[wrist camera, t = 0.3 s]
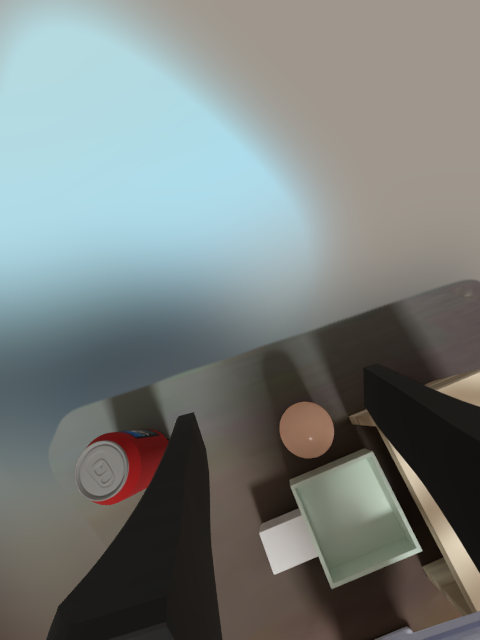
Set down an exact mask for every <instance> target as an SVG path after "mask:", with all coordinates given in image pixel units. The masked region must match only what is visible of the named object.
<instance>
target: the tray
mask: <svg viewBox="0 0 480 640" xmlns="http://www.w3.org/2000/svg"><path fill="white" fill-rule="evenodd" d="M289 481H290V487H291V490H292V492H293V495H294V497H295V499H296V502H297V504H298V507H299V508H298V509H296V510H293V511H291V512H288V513H286V514H284V515H281V516H279V517H277V518H274V519H272V520H269V521H267V522H265V523H262V524H261V526H260V531H259V534H260V537H261V540H262V542H263V545H264V548H265V551H266V554H267V556H268V559H269V562H270V565H271V568H272V571H273V573H274V575H275V574H277V573H280V572H282V571H285V570H287V569H289V568H292V567H294V566H296V565H299V564H301V563H304V562H306V561H308V560H311V559H313V558H315V557H319V559H320V562H321V564H322V567H323V569H324V572H325V574H326V577H327V579H328V582H329V584H330V587H331V589H334V588H336V587H338V586H341V585H343V584H345V583H348V582H350V581H353V580H355V579H357V578H360V577H362V576H364V575H367V574H369V573H371V572H374V571H376V570H379V569H381V568H383V567H386V566H388V565H390V564H393V563H395V562H398V561H400V560H402V559H405V558H407V557H409V556H412V555H414V554H417V553H419V552H421V551H422V549H421V547H420V545H419V543H418V541H417V539H416V537H415V535H414V533H413V531H412V529H411V527H410V525H409V523H408V521H407V519H406V517H405V515H404V513H403V511H402V509H401V507H400V505H399V503H398V501H397V499H396V497H395V495H394V493H393V491H392V489H391V487H390V485H389V483H388V481H387V479H386V477H385V475H384V473H383V471H382V469H381V467H380V465H379V463H378V461H377V459H376V457H375V455H374V453H373V451H371V450H368V449H365V448H364V449H361V450H359V451H357V452H354V453H352V454H349V455H347V456H345V457H342V458H340V459H338V460H335V461H333V462H330V463H328V464H326V465H323V466H321V467H319V468H316V469H314V470H311V471H309V472H307V473H304V474H302V475H300V476H297V477H295V478H292V479H290V480H289Z"/></svg>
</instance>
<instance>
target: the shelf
mask: <svg viewBox="0 0 480 640" xmlns="http://www.w3.org/2000/svg"><path fill="white" fill-rule="evenodd" d="M425 386H427V387H430V388H432V389H434V390H437V391H439V392H441V393H444V394H446V395H449V396H451V397H454V398H456V399H459V400H462V401H465V402H467V403H470V404H473V405H476V406H479V407H480V369H479V370H475V371H471V372H466V373H462V374H458V375H454V376H450V377H446V378H442V379H438V380H434V381H432V382H429V383H427V384H425ZM349 419H350V421H351V423H352V424H355V425H365V426H376V427H377V425H376V423H375V422H374V420H373V419H372V417H371V416H370V414H369V412H368V411H367V409H365V410H363V411H361V412H358V413H356V414H353V415H351V416H349ZM377 429H378V431H379V433H380V435H381V437H382V439H383V441H384V443H385V445H386V447H387V448H388V450H389V452H390V454H391V456H392V458H393V460H394V462H395V464H396V466H397V468H398V470H399V472H400V474H401V476H402V478H403V480H404V481H405V483H406V485H407V487H408V489H409V491H410V493H411V495H412V497H413V499H414V501H415V503H416V505H417V507H418V509H419V511H420V512H421V514H422V516H423V518H424V520H425V522H426V524H427V526H428V528H429V530H430V532H431V534H432V536H433V538H434V540H435V542H436V544H437V545H438V547H439V549H440V551H441V553H442V555H443V558H441V559H439V560H436V561H434V562H432V563H429V564H427V565H424V566H422V567H423V569H424V571H425V573H426V575H427V577H428V578H429V579H430V580H431V581H432V583H433V584H434V585H435V586H436V587H437V588H438V589H439V590H440V591H441V592H442V593H443V595H444V596H445V597H446V598H447V599H448V600H449V601H450V602H451V603H452V604H453V605H454V606H455V608H456V609H457V610H458V611H459V612H460V613H461V614H462V615H463V616H466V615H469V614H472V613H475V612H478V611H480V573H479V572H478V570H477V568H476V566H475V565H474V563H473V561H472V560H471V558H470V556H469V555H468V553H467V551H466V550H465V548H464V547H463V545H462V543H461V542H460V540H459V538H458V537H457V535H456V533H455V532H454V530H453V529H452V527H451V526H450V524H449V522H448V521H447V519H446V518H445V516H444V515H443V513H442V511H441V510H440V508H439V507H438V505H437V504H436V502H435V501H434V499H433V498H432V496H431V495H430V493H429V492H428V490H427V489H426V487H425V486H424V484H423V483H422V482H421V480H420V479H419V478H418V476H417V475H416V474H415V472H414V471H413V470H412V469H411V467H410V466H409V465H408V464H407V463H406V461H405V460H404V459H403V458H402V456H401V455H400V454H399V453H398V452H397V450H396V449H395V448H394V447H393V445H392V444H391V443H390V442H389V440H388V439H387V438H386V437H385V435H384V434H383V433H382V432H381V430H380V429H379V428H378V427H377Z"/></svg>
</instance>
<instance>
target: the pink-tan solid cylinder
mask: <svg viewBox="0 0 480 640" xmlns="http://www.w3.org/2000/svg"><path fill="white" fill-rule="evenodd" d="M280 436H281V439H282V441H283V443H284V445H285V446H286V447H287V449H288V450H289V451H290V452H292V453H293V454H295V455H296V456H299V457H302V458H315V457H318V456H320V455H322V454H324V453H325V452H326V451H327V450H328V449H329V447H330V446H331V444H332V441H333V438H334V426H333V422H332V420H331V418H330V416H329V414H328V413H327V412H326V411H325V410H324V409H323V408H322V407H320V406H319V405H317V404H315V403H311V402H299V403H296V404H293V405H292V406H290V407H289V408H288V409H287V410H286V411H285V412H284V414H283V415H282V417H281V420H280Z"/></svg>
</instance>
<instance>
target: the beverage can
mask: <svg viewBox="0 0 480 640" xmlns="http://www.w3.org/2000/svg"><path fill="white" fill-rule="evenodd" d="M168 443H169V441H168V440H167V438H166V437H165V436H164V435H163V434H161V433H160V432H158V431H155V430H134V431H123V432H113V433H107V434H103V435H101V436H99V437H97V438H96V439H94V440H93V441H92V442H91V443H90V444H89V445H88V446H87V448H86V449H85V450H84V451H83V452H82V454H81V455H80V457H79V459H78V461H77V463H76V467H75V482H76V486H77V488H78V490H79V492H80V493H81V494H82V495H83V496H84V497H85V498H87V499H89V500H91V501H93V502H95V503H97V504H101V505H111V504H115V503H118V502H120V501H122V500H124V499H126V498H128V497H130V496H132V495H134V494H136V493H138V492H140V491H142V490H144V489H145V488H147V487H148V485H149V484H150V482H151V480H152V478H153V476H154V474H155V472H156V470H157V468H158V466H159V463H160V461H161V459H162V457H163V454H164V452H165V450H166V447H167V445H168Z"/></svg>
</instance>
